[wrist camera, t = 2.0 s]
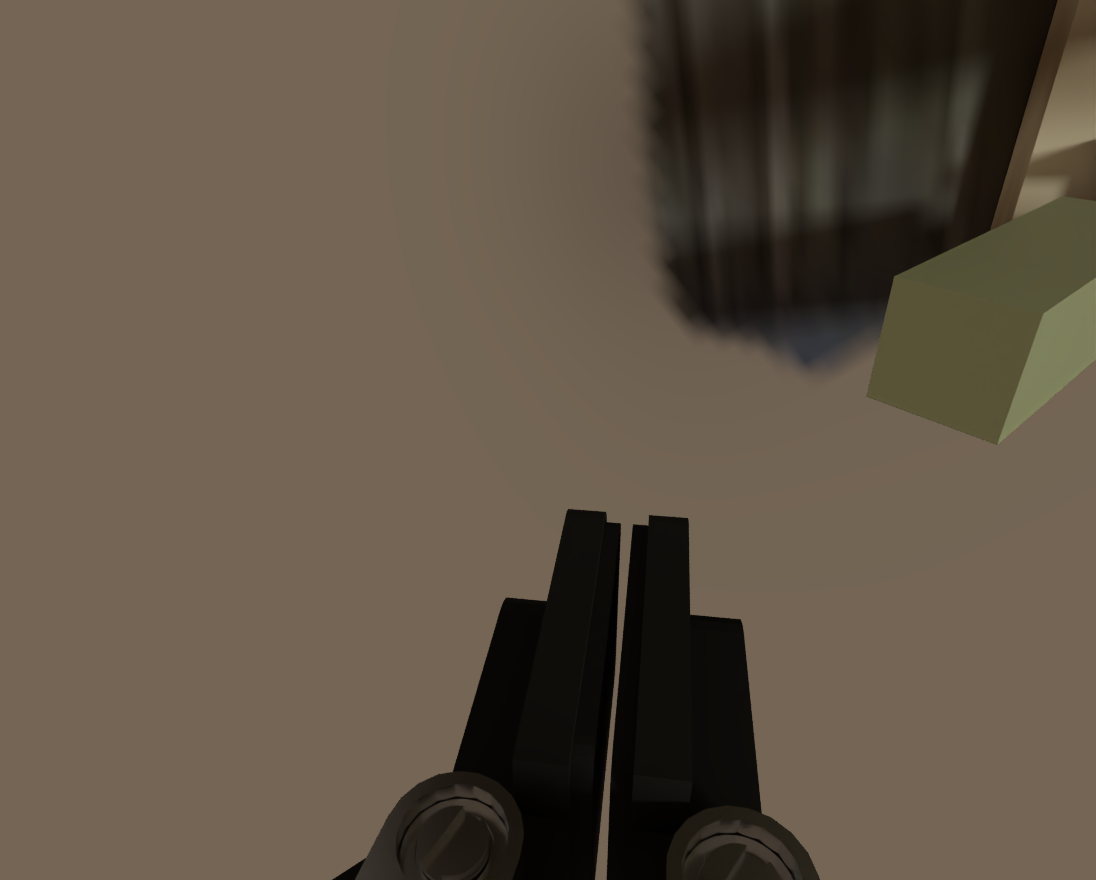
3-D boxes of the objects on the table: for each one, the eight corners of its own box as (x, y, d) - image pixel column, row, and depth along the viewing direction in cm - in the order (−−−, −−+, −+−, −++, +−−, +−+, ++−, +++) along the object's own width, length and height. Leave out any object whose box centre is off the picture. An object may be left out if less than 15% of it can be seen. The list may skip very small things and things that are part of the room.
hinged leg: (1100, 164, 23) (899, 253, 16) (1220, 179, 21) (1051, 288, 14) (1056, 287, 25) (861, 414, 18) (1162, 311, 23) (990, 464, 16)
